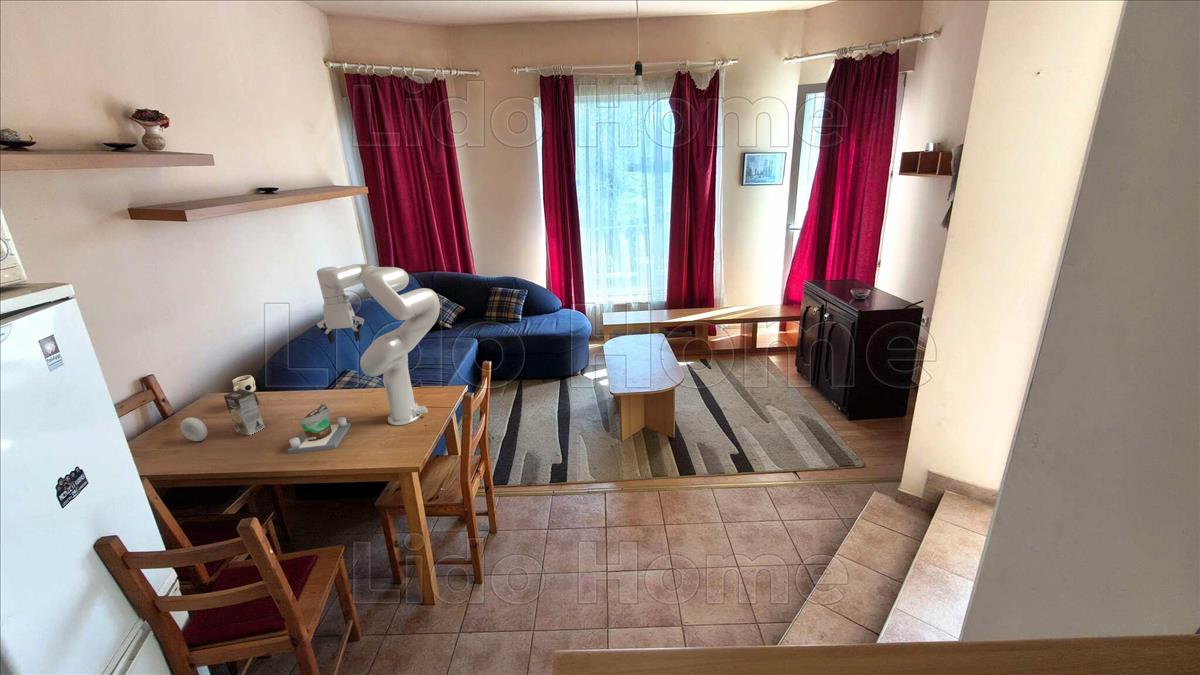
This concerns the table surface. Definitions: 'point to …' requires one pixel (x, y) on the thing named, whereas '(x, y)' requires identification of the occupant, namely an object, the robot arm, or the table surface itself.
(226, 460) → the table surface
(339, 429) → the board
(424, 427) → the table surface
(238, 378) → the character mug
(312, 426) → the food container
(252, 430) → the coffee box
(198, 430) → the donut
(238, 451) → the table surface
